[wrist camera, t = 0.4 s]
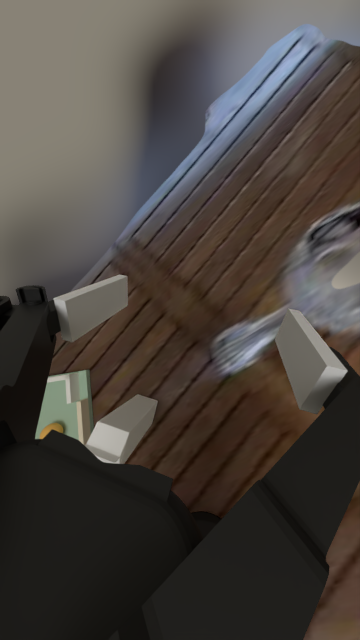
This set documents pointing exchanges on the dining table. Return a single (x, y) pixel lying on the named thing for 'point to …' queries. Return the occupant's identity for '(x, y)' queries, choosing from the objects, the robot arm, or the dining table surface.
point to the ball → (49, 427)
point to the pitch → (68, 405)
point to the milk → (122, 430)
